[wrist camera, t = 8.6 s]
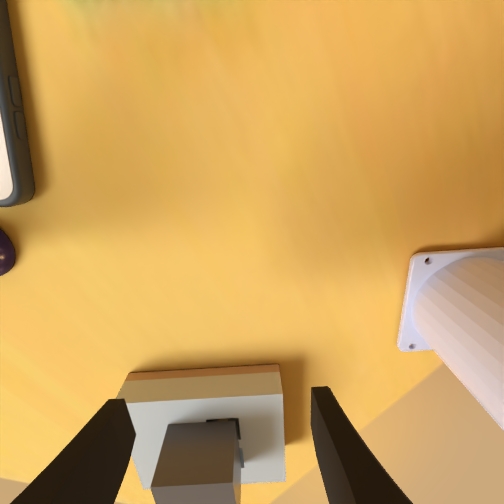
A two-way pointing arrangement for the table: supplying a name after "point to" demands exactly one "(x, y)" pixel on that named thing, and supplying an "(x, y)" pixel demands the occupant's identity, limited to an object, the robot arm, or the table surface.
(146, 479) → the socket
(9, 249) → the toy lamp
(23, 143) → the phone case
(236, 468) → the plug
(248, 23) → the table surface
